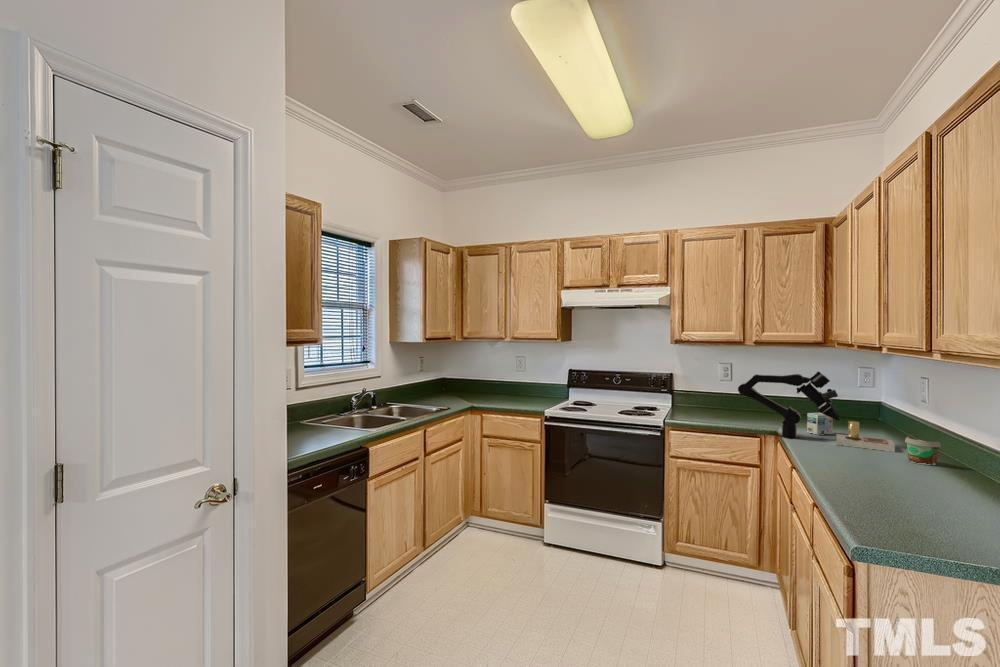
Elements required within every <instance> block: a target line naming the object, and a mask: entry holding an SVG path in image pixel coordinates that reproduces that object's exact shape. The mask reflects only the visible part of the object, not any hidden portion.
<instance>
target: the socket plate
mask: <svg viewBox="0 0 1000 667" xmlns="http://www.w3.org/2000/svg"><path fill="white" fill-rule="evenodd" d="M835 438H836V439H835V440H836V441H835V442H837V443H836V446H838V445H845V446H844V447H846V446H852V447H851V448H855V447H861V448H860V449H863V448H868V449H867V450H872V449H876V450H875V451H880V450H884V451H883V452H889V451H892V452H891V453H895V452H896V451H895V450H896V445H895V443H894V442H893V440H892V439H888V438H887V439H886V438H878V437H876V438H875V437H867V436H859V440H853V439H848V434H841V433H840V434H839V433H836V436H835Z"/></svg>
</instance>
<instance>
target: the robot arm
mask: <svg viewBox="0 0 1000 667" xmlns="http://www.w3.org/2000/svg"><path fill="white" fill-rule="evenodd" d="M830 382H831V380H830V379H829V378H828V377H827V375H824V374H823V373H821V372H820V371H817V372H816V373H815V374H814V375H813V376H811V377H807V376H806V377H805V376H803V375H802V374H800V373H796V374H795V373H794V374H787V375H785V374H784V375H774V374H773V375H772V374H771V375H770V374H768V375H767V374H758V373H757V374H754V375H753V376H752V377H751V378H750V379H749V380H748V381H747V382H746V383H741V384H740V385H739V386H738V388H737V391H738V393H739V394H740V395H742V396H744V397H747V398H751V399H754V400H755V401H757V402H759V403H760V404H763V405H764V406H766V407H767V408H769V409H771V410H773V411H774V412H776V413H778V414H779V415H780V416H782V417H783V419H782V425H781V428H782V430H781V431H782V432H781V433H782V434H779V437H782V438H786V439H790V440H791V439H792V440H793V439H799V438H800V437H799V436H797V425H796V424H799V422H800V421H801V413H800V412H799V411H798V409H794V407H792V406H789V407H785V406H783V405H781V404H779V403H778V402H775V400H772V399H770V398H769V397H767V396H765V395H763V394H761V392H758V391H757V390H756V389H755V388H754V386H756V385H757V384H758V383H775V384H786V385H789V386H794V387H795V386H796V394H799V393H802V394H803V395H804V396H806V397H807V398H808V399H809V401H810V402H812V403H813V404H814V405H815V406H816V407H817V411H818V413H822V414H824V415H826V416H829V417H831V418H833V420H836V421H840V419H841V418H840V417H841V416H840V415H839V413H838V412H837V411H836V409H835V408H834V404H833V403H834V402H833V401H832V399H833V398H838V397H839V395H838V393H837V391H836V389H831V388H828V389H827V390H826V391H825V392H824V393H823V392H822V391H819V390H818V389H822V388H823V387H824V386H826V385H827V384H828V383H830ZM799 386H800V387H799Z"/></svg>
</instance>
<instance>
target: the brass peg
mask: <svg viewBox="0 0 1000 667" xmlns="http://www.w3.org/2000/svg"><path fill="white" fill-rule="evenodd" d="M847 435H848V439H853V440H859V437H860V422H859V421H854V420H848V421H847Z"/></svg>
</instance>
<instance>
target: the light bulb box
mask: <svg viewBox="0 0 1000 667" xmlns="http://www.w3.org/2000/svg"><path fill="white" fill-rule="evenodd" d="M806 415H807V420H806V421H807V422H806V433H807V432H809V433H808V434H810V433H813V434H812V435H814V434H817V435H816V436H821V435H820V434H832V435H833V424H834V419H833V418H831V417H829V416H826V415H824V414H822V413H820V412H807V414H806Z"/></svg>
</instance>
